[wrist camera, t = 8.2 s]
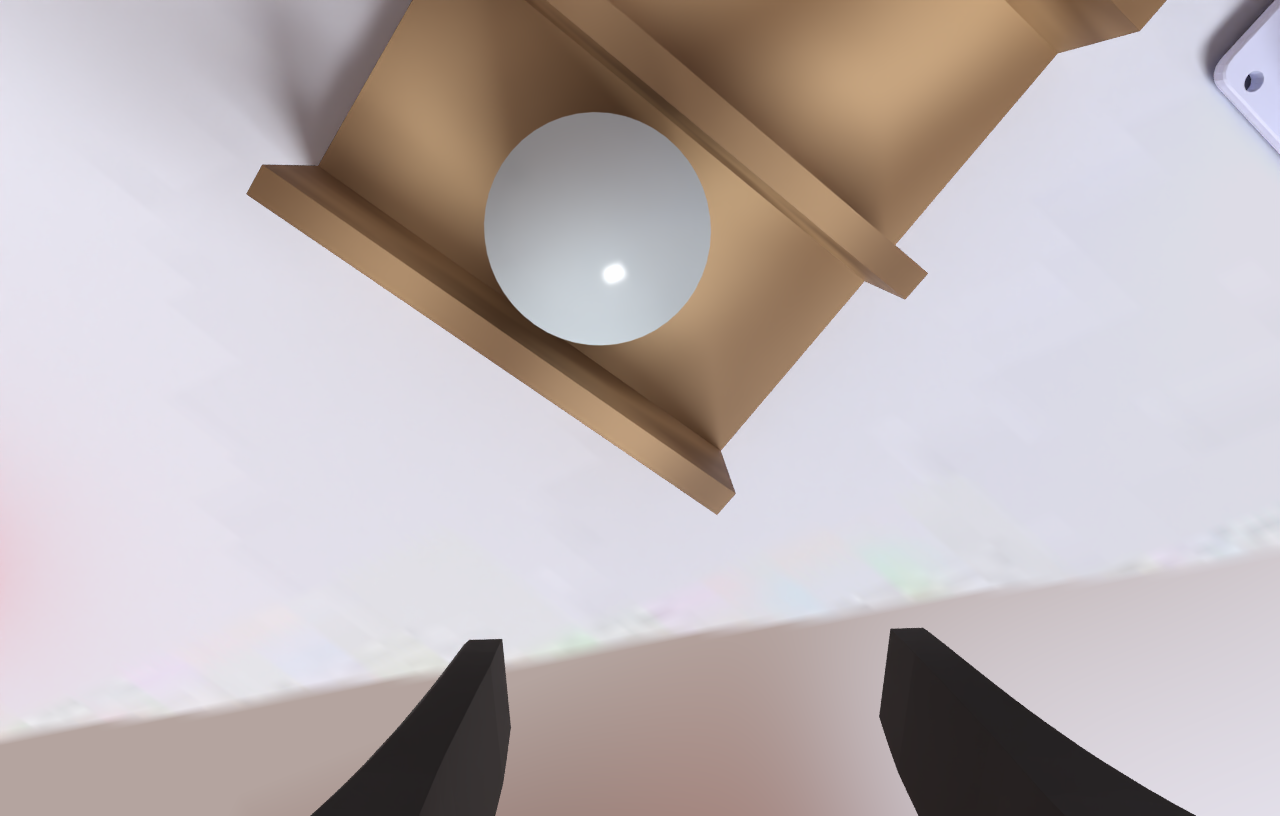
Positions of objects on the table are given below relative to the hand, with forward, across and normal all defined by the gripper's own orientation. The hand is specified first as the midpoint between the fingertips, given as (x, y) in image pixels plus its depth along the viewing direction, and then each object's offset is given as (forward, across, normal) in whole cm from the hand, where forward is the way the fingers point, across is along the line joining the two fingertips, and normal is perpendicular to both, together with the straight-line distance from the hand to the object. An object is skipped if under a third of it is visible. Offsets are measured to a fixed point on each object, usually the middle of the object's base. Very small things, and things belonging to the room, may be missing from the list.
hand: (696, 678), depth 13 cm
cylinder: (+9, +2, -8) cm, 12 cm away
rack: (+10, 0, -10) cm, 15 cm away
